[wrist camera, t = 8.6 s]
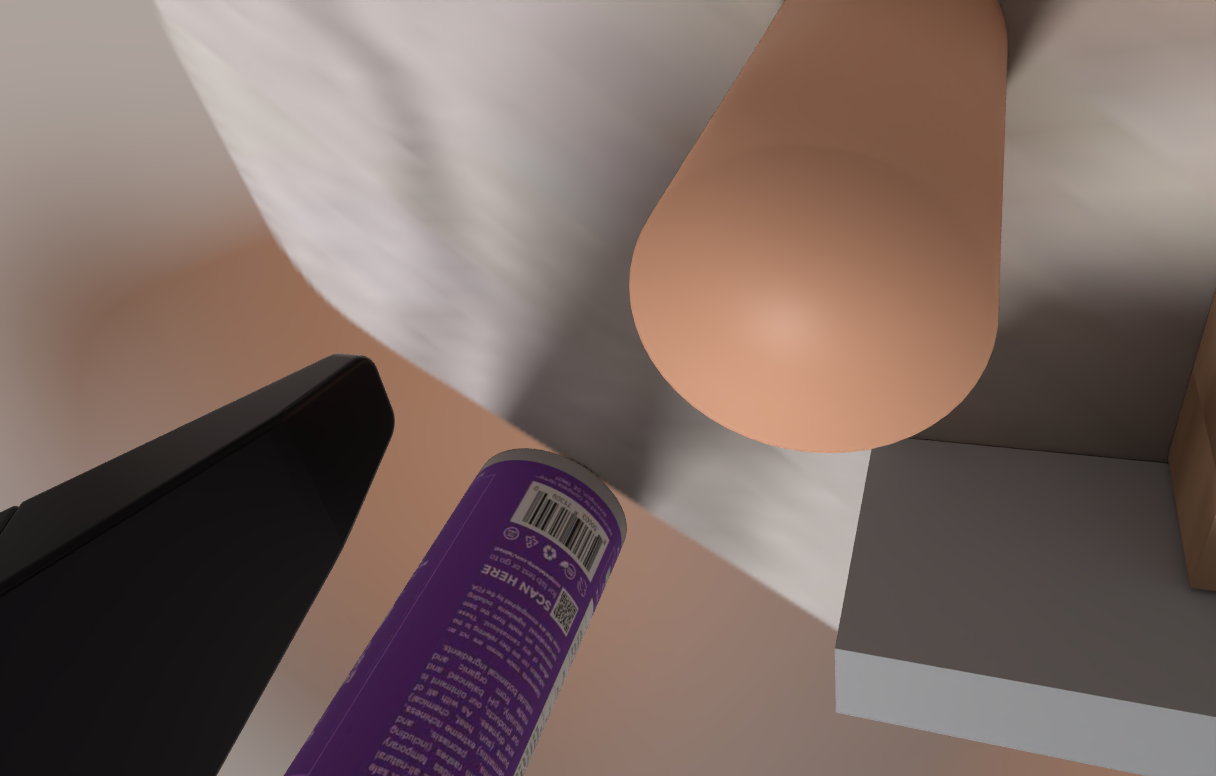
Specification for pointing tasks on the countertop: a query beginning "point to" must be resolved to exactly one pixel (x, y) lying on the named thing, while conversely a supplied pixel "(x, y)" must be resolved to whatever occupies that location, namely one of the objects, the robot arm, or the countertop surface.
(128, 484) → the robot arm
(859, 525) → the backstop wall
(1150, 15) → the countertop surface
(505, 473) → the container
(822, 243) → the dowel
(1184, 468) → the socket block
